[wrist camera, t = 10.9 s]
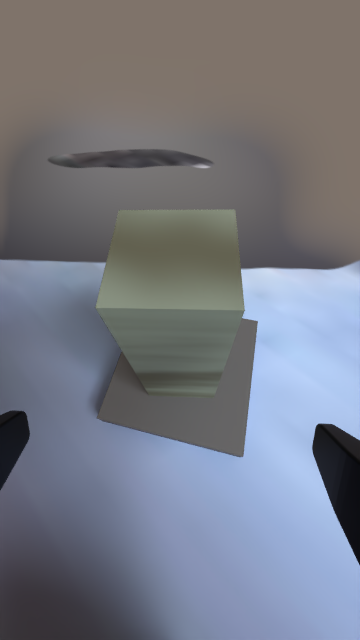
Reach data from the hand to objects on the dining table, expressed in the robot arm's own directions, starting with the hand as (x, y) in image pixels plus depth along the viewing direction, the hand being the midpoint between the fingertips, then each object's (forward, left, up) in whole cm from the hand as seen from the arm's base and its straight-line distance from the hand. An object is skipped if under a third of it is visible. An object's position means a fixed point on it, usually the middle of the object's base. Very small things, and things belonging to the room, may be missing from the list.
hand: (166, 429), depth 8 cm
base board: (+6, +1, -13) cm, 15 cm away
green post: (+6, +1, -12) cm, 13 cm away
